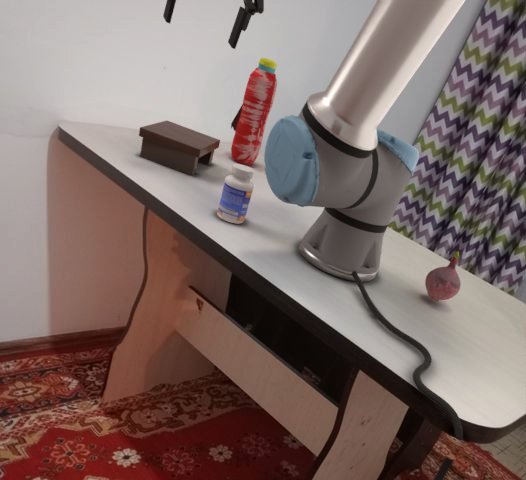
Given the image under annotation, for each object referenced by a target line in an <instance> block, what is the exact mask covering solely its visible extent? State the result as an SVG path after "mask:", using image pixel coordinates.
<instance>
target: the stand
mask: <svg viewBox="0 0 526 480" xmlns="http://www.w3.org/2000/svg"><path fill="white" fill-rule="evenodd" d="M138 136H139V137H141V138H142V141H141V148H140V155H139V157H141V158H142V159H143V158H144V159H146V160H149V161H151V162H155V163H156V164H159V165H162V166H164V167H167V168H169V169H173V170H175V171H178V172H181V173H184V174H186V175H189V176H194V175H195V174H196V172H197V168H198V163H201V164H203V165H206V166H210V165H211V164H212V163H213V158H214V154H215V150H217V149H218V148H220V143H221V139H219V138H216V137H212V136H210V135H209V134H208V135H207V134H205V133H203V132H199V131H197V130H194V129H191V128H189V127H186V126H184V125H180V124H178V123H176V122H173V121H169V120H163V121H160V122H156V123H152V124H148V125H144V126H140V127H139V131H138Z"/></svg>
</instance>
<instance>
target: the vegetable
mask: <svg viewBox="0 0 526 480" xmlns="http://www.w3.org/2000/svg"><path fill="white" fill-rule="evenodd" d="M459 256H460V252H459V251H455V253H454V254H453V255H452V258H451V260H450V262H449V263H448V265H446V266H438V267H436V268H434V269H432V270H430V271H429V272H428V273H427V275H426V277H425V280H424V281H425V283H424V285H425V289H426V293H427V295H428V297H429V299H430V300H431V301H433V302H439V301H446V300H450V299H452V298H454V297H455V296H456V295H458V293H459V291H460V289H461V285H462V284H461V283H462V282H461V279H460V276H459V274H458V272H457V269H456V268H457V267H456V266H457V263H458V260H459Z"/></svg>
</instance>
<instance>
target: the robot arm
mask: <svg viewBox="0 0 526 480" xmlns="http://www.w3.org/2000/svg"><path fill="white" fill-rule="evenodd" d="M176 2H177V0H166V3H165V8H164V10H163V15H162V16H163V17H162V18H163V19H164V21H165V22H166V24H167V23H168V24H171V21H172V17H173V13H174V10H175V6H176ZM465 2H466V0H376V1H375V3H374V5H373V7H372V8H371V10H370V12H369V14H368V15H367V17H366V19H365V21H364V23H363V24H362V26H361V28H360V30H359V31H358V33H357V35H356V37H355V38H354V40H353V41H352V43H351V45H350V47H349V49H348V50H347V52H346V54H345V56H344V57H343V59H342V60H341V63H340V64H339V66H338V68H337V70H336V71H335V73H334V75H333V77H332V78H331V80H330V82H329V83H328V85H327V87H326V89H325V90H323V91H318V92H315V93H311V94H310V95H309V96H308V98H307V100H306V101H305V103H304V105H303V107H302V108H301V109H300V112H299V114H298V115H297V116H296V115H293V114H290V115H287V116H286V115H285V116H284V117H281V118H280V119H278V120H277V121H276V122H275V123H274V125H273V126H272V128H271V129H270V131H269V133H268V136H267V138H266V139H267V140H266V142H265V147H264V148H265V149H264V159H263V160H264V172H265V178H266V180H267V184H268V186H269V188H270V190H271V192H272V193H273V195H274V196H275V197H276V198H277V199H278V200H279V201H281V202H283V203H286V204H290V205H296V206H298V207H301V208H304V207H314V208H315V207H317V208H323V211H322V212H321V214H320V215H319V216H318V218H316V220H315V221H314V222H313V224H312V225H311V226H310V227H309V229H308V230H307V231H306V232H305V234H304V235H303V237H302V239H301V241H300V244H299V247H298V250H299V253H300V254H301V256H302V257H303V258H304V259H305V260H306V261H307V262H308V263H310V264H311V265H312V266H314V267H316V268H317V269H319V270H321V271H323V272H325V273H327V274H329V275H332V276H334V277H336V278H340V279H343V280H348V281H352V282H355V283H356V285H357V287H358V289H359V291H360V293H361V296H362V298H363V300H364V302H365V303H366V305H367V306H368V308H369V310H370V311H371V313H372V314H373V315H374V317H375V318H376V319H377V320H378V321H379V322H380V323H381V325H383V326H384V327H385V328H386V329H387V330H388V331H389V332H391V333H392V334H394V335H395V336H397V337H398V338H400V339H401V340H402V341H405V342H407V343H408V344H410V346H412V347H414V348H415V349H416V350H417V351H419V352H420V354H422V356H423V358H424V361H423V362H422V363H421V364H420V365H418V366H417V367H416V368H415V369H414V371H413V374H412V380H413V383H414V384H415V387H416V388H417V390H418V391H420V392H421V393H422V394H423V395H424V396H425V397H427V399H429V400H431V401H432V402H434V403H435V404H436V405H437V406H439V407H440V408H441V409H442V410H443V411H444V412H445V413H446V414H447V416H448V417H449V419H450V421H451V423H452V426H453V432H454V433H453V434H454V436H455V437H456V438H457V439H458V440H460V441H462V440H463V438H464V430H463V425H462V422H461V419H460V417H459V414H458V413H457V412H456V410H455V409H454V407H453V406H452V405H451V404H450V403H449V402H447V400H445V399H444V398H443V397H441V396H440V395H438V394H437V393H435V392H434V391H432V390H431V389H430V388H429V387H428V386H426V385H425V384H424V383H423V381H422V378H421V375H422V374H423V372H425V371H426V370H427V369H428V368H430V366H431V365H432V363H433V358H432V355H431V353H430V351H429V350H428V349H427V347H426V346H424V345H423V344H422V343H421V342H419V341H418V340H417V339H415V338H414V337H412V336H410V335H409V334H407V333H405V332H403V331H402V330H401V329H399V328H398V327H396V326H395V325H393V324H392V323H391V322H390V321H389V320H388V319H387V317H385V316H384V315H383V314H382V313H381V312H380V311H379V309H378V308H377V307H376V305H375V303H374V302H373V301H372V299H371V298H370V296H369V294H368V291H367V289H366V287H365V285H364V283H363V282H369V281H373V280H374V279H375V277H376V275H377V273H378V272H379V268H380V264H381V255H382V249H383V241H384V235H385V233H386V231H387V229H388V226H389V225H390V222H391V220H392V219H393V216H394V214H395V212H396V210H397V208H398V206H399V204H400V202H401V199H402V197H403V196H404V193H405V191H406V189H407V187H408V185H409V184H410V183H409V182H410V181H411V178H413V177H414V173H415V170H416V167H417V164H418V162H419V159H420V153H419V150H418V149H417V148H416V147H415V146H413V145H412V144H410V143H408V142H406V141H405V140H402V139H400V138H398V137H395V136H394V135H392V134H390V133H388V132H386V131H385V130H381V129H380V128H378V126H379V125H380V124H381V122H382V121H383V119H384V118H385V116H386V115H387V113H389V111H390V109H391V108H392V107H393V105H394V104H395V102H396V101H397V99H398V98H399V96H400V95H401V93H402V92H403V91H404V89H405V88H406V87H407V85H408V83H409V82H410V81H411V80H412V78H413V76H414V75H415V74H416V72H417V71H418V69H419V68H420V67H421V64H422V63H423V62H424V60H425V59H426V58H427V56H428V55H429V53H430V52H431V50H432V49H433V48H434V46H435V45H436V44H437V42H438V41H439V39H440V37H441V36H442V35H443V34H444V32H445V30H446V29H447V28H448V26H449V25H450V23H451V22H452V20H453V19H454V18H455V17H456V15H457V14H458V12H459V11H460V9H461V8H462V7H463V5H464V3H465ZM243 5H244V6H239V9H238V11H237V14H236V17H235V20H234V23H233V26H232V29H231V31H230V35H229V38H228V40H227V43H228V44H229V46H230V48H231V49H234V50H236V48H237V45H238V42H239V39H240V36H241V33H242V31H243V32H246V30H247V29H248V27H249V23H250V21H251V18H252V16H255V14H260V15H261V14H263V13H264V11H265V0H243ZM453 463H454V459H451V458H448V457H445V458H444V460H443V461H442V463H441V464H440V467H439V468H438V470H437V472H436V474H435V476H434V478H433V480H444V478H445V477H446V475H447V473H448V472H449V469H450V468H451V466H452V464H453Z"/></svg>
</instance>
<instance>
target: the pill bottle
mask: <svg viewBox="0 0 526 480" xmlns="http://www.w3.org/2000/svg"><path fill="white" fill-rule="evenodd" d="M254 172H255V171H254V169H253V168H252V167H250V166H249V165H245V164H241V163H233V164H232V166H231V169H230V173H231V174H229V175H227V176H226V177H225V179H224V183H223V188H222V191H221V196H220V199H219V204H218V207H217V208H218V209H217V212H216V213H217V217H219V218H220V219H221V220H223V221H225V222H228V223H230V224H237V225H238V224H239V225H240V224H242V223H244V222H245V220H246V216H247V212H248V209H249V206H250V201H251V198H252V194H253V192H254V191H253V190H254V183H253V182H252V181H251V180H252V179H253V176H254Z"/></svg>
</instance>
